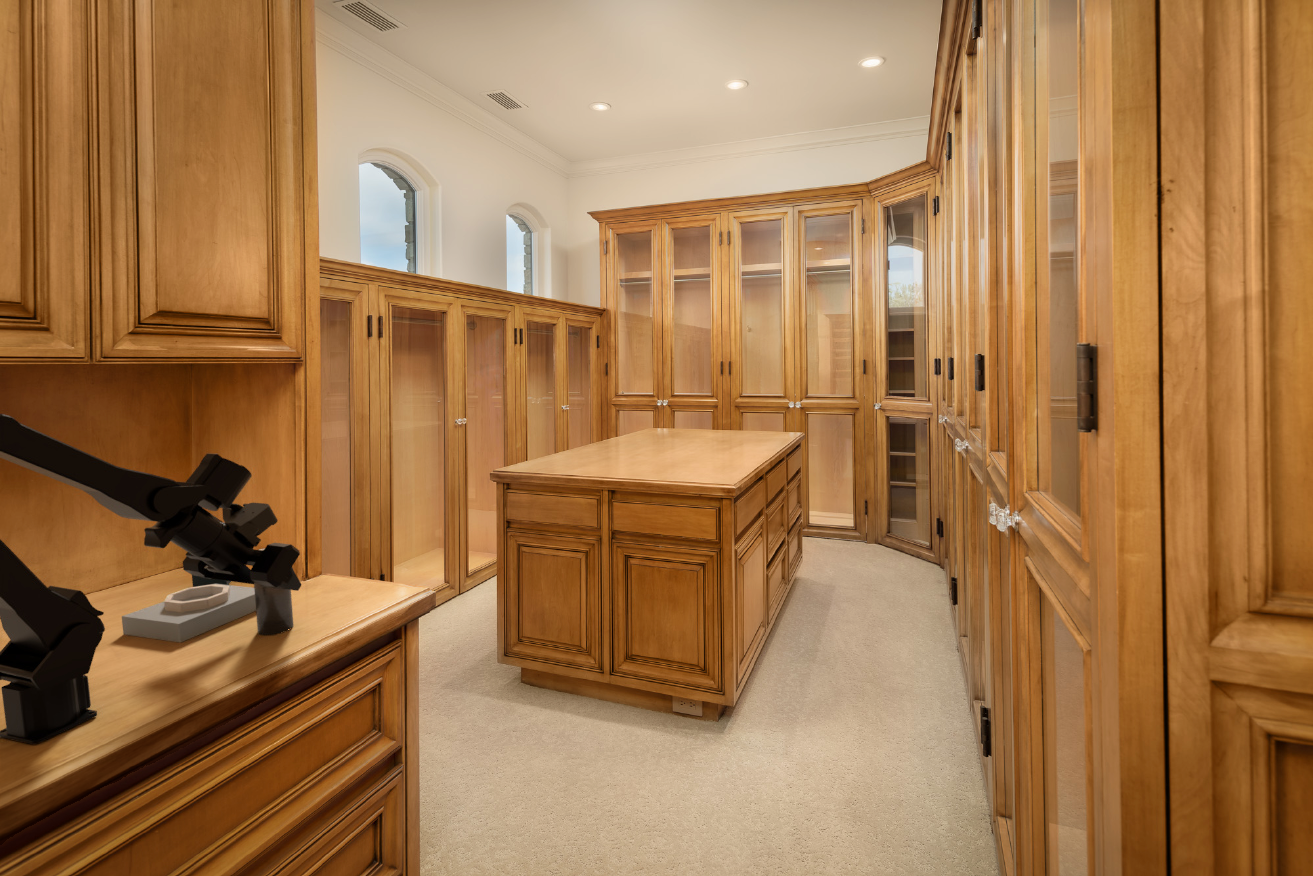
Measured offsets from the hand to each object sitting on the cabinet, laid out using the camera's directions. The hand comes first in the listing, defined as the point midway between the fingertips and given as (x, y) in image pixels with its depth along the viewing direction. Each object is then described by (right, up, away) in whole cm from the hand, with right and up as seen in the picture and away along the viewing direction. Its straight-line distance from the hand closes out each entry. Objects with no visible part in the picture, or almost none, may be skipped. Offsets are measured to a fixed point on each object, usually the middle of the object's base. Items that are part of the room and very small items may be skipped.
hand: (278, 584), depth 104 cm
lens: (0, -7, 0) cm, 7 cm away
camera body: (-16, -7, +4) cm, 18 cm away
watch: (-25, -5, +21) cm, 34 cm away
